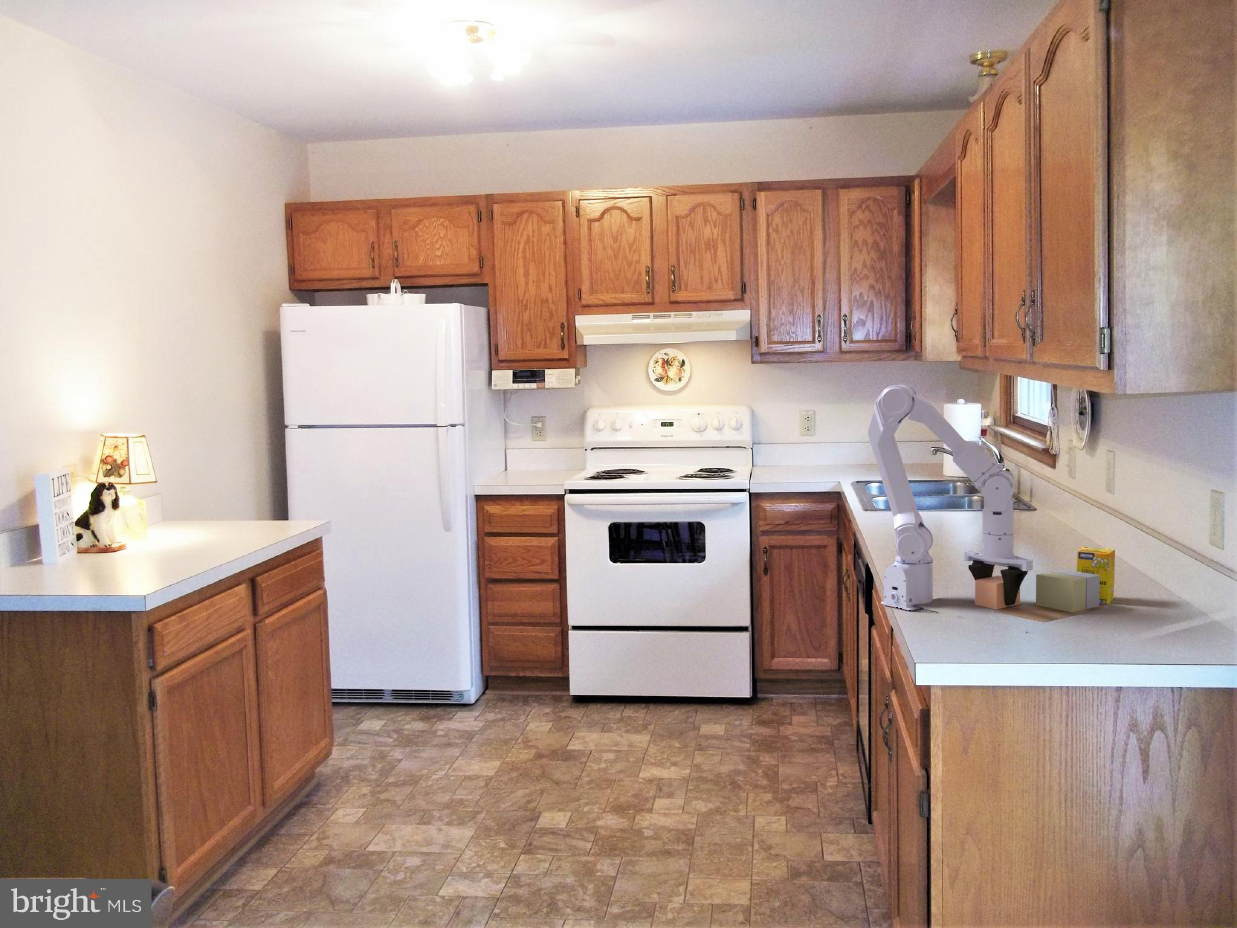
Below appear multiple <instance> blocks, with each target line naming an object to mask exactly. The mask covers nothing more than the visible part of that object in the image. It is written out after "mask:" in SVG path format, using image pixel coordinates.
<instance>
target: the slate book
mask: <svg viewBox="0 0 1237 928" xmlns="http://www.w3.org/2000/svg"><path fill="white" fill-rule="evenodd" d="M1050 572H1052V573H1058V574H1064V575H1070V576H1076V577H1082V578H1086V609H1089V608H1094V607H1098V606H1099V605H1100V603H1099V596H1100V575H1095V574H1089V573H1083V572H1077V570H1076V571H1075V570H1070V569H1064V568H1063V569H1058V570H1054V571H1050Z"/></svg>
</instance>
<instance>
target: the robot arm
mask: <svg viewBox="0 0 1237 928" xmlns="http://www.w3.org/2000/svg"><path fill="white" fill-rule="evenodd" d="M906 418H907V420H910V421H913V422H915V423H920V424H923V425H924V426H926V427H927V428H928V429H929V430H930V432H931V433H933V435H935V437H937V438H938V439H939V440H940V441H941V442H942V443H943V444H944V445H945V446H946V447H947V448H948V449H949V450H950V451H952V462H953V463H954V465H956V467H958V468H959V470H961V471H962V473H964V474H965V476H967V478H968V479H969V480H970V481H971V482H973V484H974V485H976V486H977V485H978V486H979V487H980V492H981V496H982V497H983V509H982V537H981V538H982V542H981V543H982V548H981V549H982V551H980V550H972V549H970V550H965V551H964V552H963V553H964V554H963V555H964V556H963V557H964V560H963V561H965V562H972V563H971V564H969V565H968V570H969V572H970V573H971V576H972V578H973V579H974V581H975V580H978V579H983V578H988V577H993V574H994V570H995V566H998V567H1004V568H1003V569H1000V571H999V572H1000V576H1002V579H1003V583H1004V600H1005V605H1007V606H1009V607H1011V606H1010V605H1014V604H1015V601H1016V597H1017V594H1018V591H1019V588H1020V589H1021V586H1022V583H1023V581H1024V579H1025V578H1026V576H1027V575H1028V573H1029V571H1030V572H1031V571H1033V569H1034V560H1033V559H1029V558H1024V557H1022V556H1017V555H1015V553H1014V546H1015V545H1014V542H1015V540H1014V538H1015V537H1014V533H1015V532H1014V528H1015V526H1014V525H1015V519H1014V518H1015V517H1014V516H1015V511H1014V508H1013V507H1014V499H1013V495H1014V492H1015V487H1016V486H1015V484H1016V483H1015V480H1014V478H1013V477H1012V475H1011V472H1010V471H1008V470H1006V469H1003V468H1004V465H1003V464H1002V463H1001V462H1000V463H997V462H996V461H995V459H993V458H992V456H991V455H989V454H988V453H987V451H986V449H987V447H986V446H985V445H984V444H983V443H980V444H978V442H977V441H975V440H965V439H964V438H963V436H962V435H961V434H960V433H959V432H958V431H957V430H956V429H955V428H954V427H953V426H952V424H951V423H950V422H949V421H948V420H947V419H946V418H945V417H944V416H943V414H941V412H939V410H938V409H937V408H936V407H935V406H934V405H933V404H932V403H931V402H930V401H929V400H927V399H926V397H924V396H923V395H922V394H920V393H917V391H916V390H915V389H914V388H913V386H911V385H909V384H906V383H899V384H898V383H897V384H894V385H889V386H888V387H886V388H885V389H883V391H881V393H880V395H879V396H878V397H877V398H876V400H875V401H874V407H873V411H872V414H871V417H870V422H869V425H868V428H867V436H868V439H869V442H870V445H871V449H872V452H873V455H874V458H875V461H876V466H877V468H878V469H877V470H878V472H879V475H880V479H881V481H882V485H883V487H884V491H885V494H886V497H887V501H888V505H889V507H890V511H891V513H892V517H893V528H894V532H895V540H894V541H895V542H894V550H895V552H896V554H897V555H896V556H895V560H894V562H893V563H892V564H890V565H887V567H886V568H885V570H884V574H883V601H881V602H880V605H885V606H888V607H893V608H896V607H898V608H897V609H900V608H902V610H905V611H909V610H911V611H916V609H917V610H921V609H923V607H921V606H917V605H922V604H929V603H932V602H933V601H934V598H933V597H934V587H933V586H934V573H933V572H934V562H933V561H934V558H933V556H931V555H930V553H929V550H931V548H932V546H933V544H934V537H933V534H932V532H931V530H930V529H929V528H928V527H927V526H926V524H925V523H924V521H923V517H922V515H921V514H920V511H919V510H918V509H917V504H916V501H915V498H914V496H913V495H914V494H913V492H912V489H911V486H910V482H909V478H908V476H907V472H906V469H905V466H904V463H903V459H902V456H901V453H900V449H899V446H898V444H897V440H896V437H895V433H896V432H897V431H898V429H899V427H900V425H901V424H902V421H904V419H906ZM1014 606H1015V605H1014ZM920 608H921V609H920Z"/></svg>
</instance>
